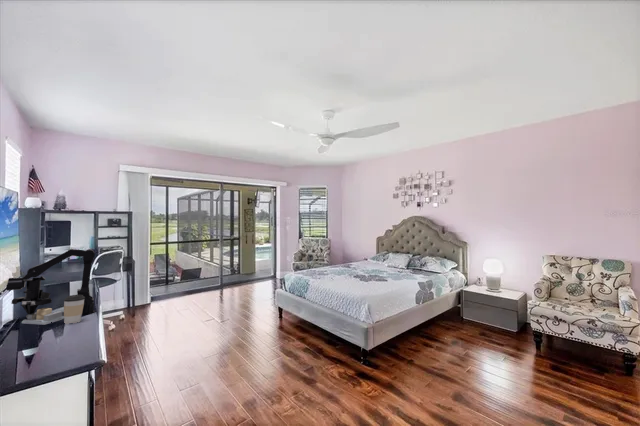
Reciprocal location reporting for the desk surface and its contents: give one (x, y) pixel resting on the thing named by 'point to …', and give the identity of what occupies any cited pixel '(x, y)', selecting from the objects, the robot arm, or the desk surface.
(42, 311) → the maple block
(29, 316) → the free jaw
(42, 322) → the vise bed
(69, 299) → the coffee cup
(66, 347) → the desk surface
